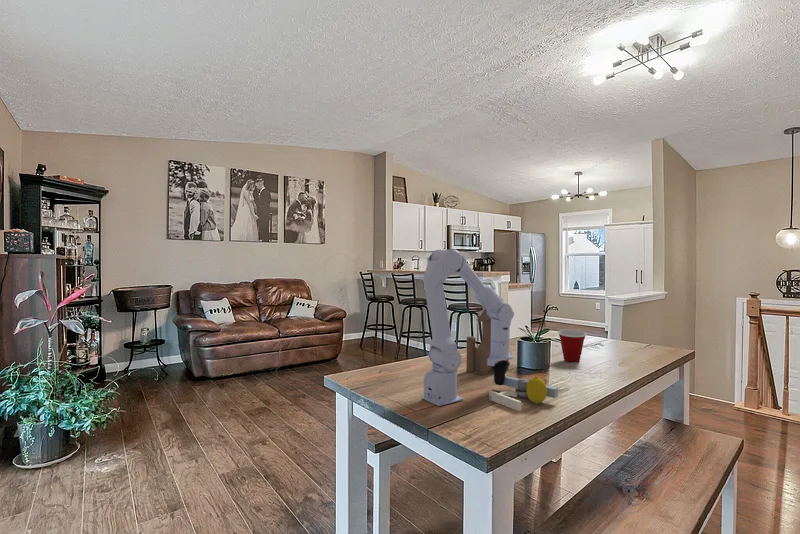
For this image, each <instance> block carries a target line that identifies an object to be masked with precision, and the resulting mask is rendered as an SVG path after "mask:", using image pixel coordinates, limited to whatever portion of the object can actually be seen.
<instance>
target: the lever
mask: <svg viewBox="0 0 800 534" xmlns="http://www.w3.org/2000/svg"><path fill="white" fill-rule="evenodd" d="M529 380H530V379H525V378H524V379H523V378H517V377H513V376H510V375H509V376H508V374H507V373H505V380H504V384H503V385H502V386H505V387H509V388H513V389H518V390H521V391H527V390H526V389H527V384H528V381H529ZM493 384H495V378H494V377H493ZM546 387H547V395H546V397H549V398H552V399H556V398H557V397H558V396H559V393H558V392H559V391H558V390H559V388H558V387H556V386H552V385H547V384H546Z"/></svg>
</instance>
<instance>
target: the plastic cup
mask: <svg viewBox="0 0 800 534" xmlns="http://www.w3.org/2000/svg"><path fill="white" fill-rule="evenodd" d="M557 333H558V335H559V340H560V344H561V351H562V356H563V360H565V362H566V361H567V363H570V362H578V363H580V360H581V357H582V352H583V347H584V341H585V338H586V336H587V334H588V333H586V332H585V331H583V330H578V329H561V330H558V331H557Z"/></svg>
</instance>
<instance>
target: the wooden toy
mask: <svg viewBox="0 0 800 534" xmlns="http://www.w3.org/2000/svg"><path fill="white" fill-rule="evenodd" d="M476 321H477V322H481V323H482V325H481V326H482V327H481V328H482V329H481V333H482V334H481V337H482V338H481V341H480V344H479V345H478V346H476V341H477V340H476V339H477V338H476V337H475V336H472V335H469V336H467V337H466V368H465V369H466V373H469V374H472V373H473V374H476V375H479V376H482V375H484V376H485V375H488V374H489V370H490V369H492V367H491V366H488V365H487V359H488V358H489V356H490V354H491V318H490V317H488V315H487V310H486V309H485V308H484V309H483V311H482V312H481V314H480V315H479V316H478V318H477V319H476ZM509 360H510V359H507V360H505V361H508V362H510V361H509ZM509 367H510V365H509V366H508V368H507V371H509V369H510V368H509Z"/></svg>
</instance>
